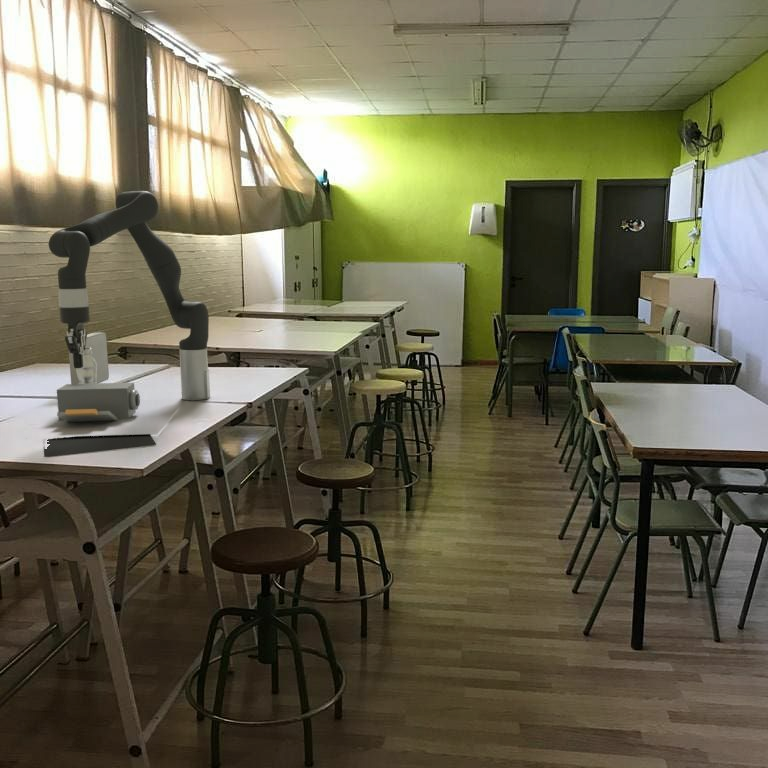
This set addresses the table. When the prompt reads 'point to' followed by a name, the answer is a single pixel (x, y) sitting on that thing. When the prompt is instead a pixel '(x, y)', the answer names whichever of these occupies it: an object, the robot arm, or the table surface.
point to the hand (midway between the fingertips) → (78, 367)
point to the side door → (86, 415)
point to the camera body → (100, 398)
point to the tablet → (96, 444)
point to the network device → (98, 353)
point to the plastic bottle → (87, 369)
